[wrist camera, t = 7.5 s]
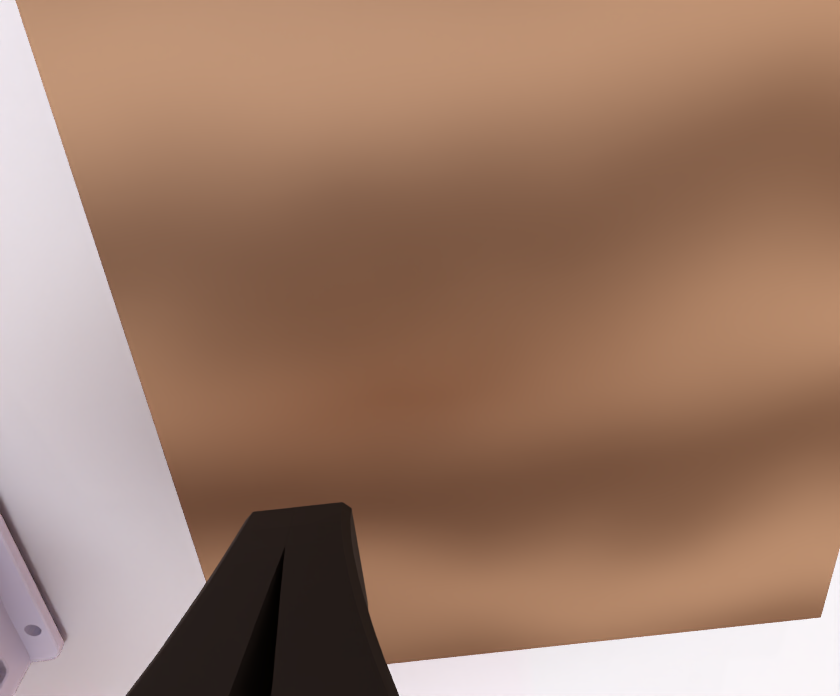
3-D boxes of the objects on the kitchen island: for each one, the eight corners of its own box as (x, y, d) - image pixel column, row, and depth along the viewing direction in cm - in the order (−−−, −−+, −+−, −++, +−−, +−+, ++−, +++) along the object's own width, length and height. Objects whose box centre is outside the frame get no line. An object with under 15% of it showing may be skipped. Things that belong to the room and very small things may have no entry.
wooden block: (749, 517, 22) (820, 617, 18) (261, 569, 22) (238, 680, 18) (959, -626, 11) (1245, -933, 7) (-40, -535, 11) (-247, -800, 7)
